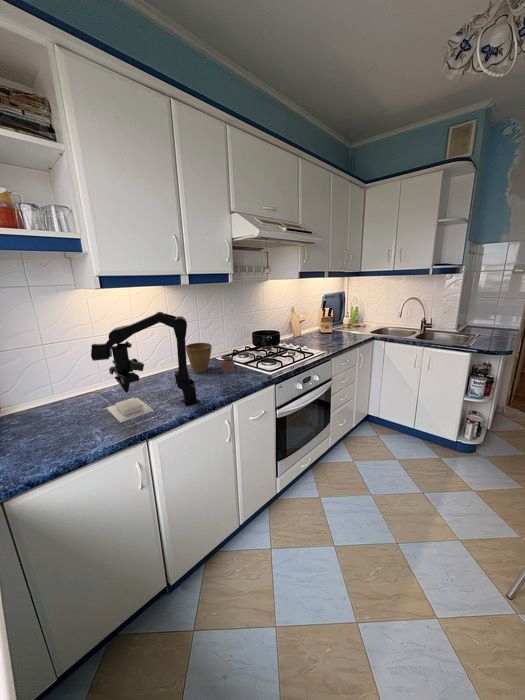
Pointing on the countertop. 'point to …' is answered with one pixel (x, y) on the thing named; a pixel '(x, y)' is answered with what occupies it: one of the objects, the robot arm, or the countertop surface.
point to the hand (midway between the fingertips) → (126, 392)
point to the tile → (129, 406)
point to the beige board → (121, 417)
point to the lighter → (227, 365)
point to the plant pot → (199, 356)
